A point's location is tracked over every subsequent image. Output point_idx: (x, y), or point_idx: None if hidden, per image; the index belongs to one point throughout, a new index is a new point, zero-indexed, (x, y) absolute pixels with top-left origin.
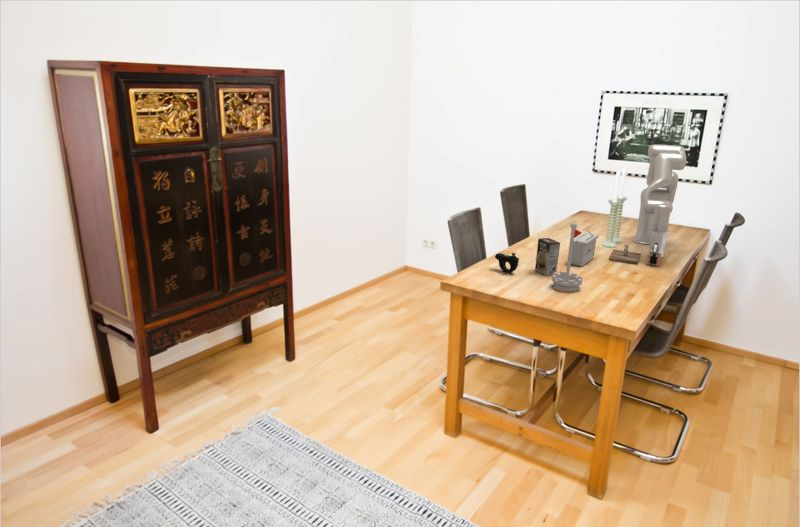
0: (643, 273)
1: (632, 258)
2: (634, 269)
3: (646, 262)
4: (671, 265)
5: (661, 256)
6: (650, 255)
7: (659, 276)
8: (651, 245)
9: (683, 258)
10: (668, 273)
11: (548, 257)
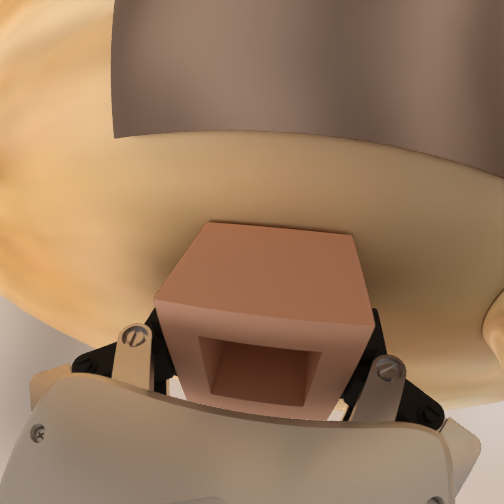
0: (12, 213)
1: (253, 43)
2: (28, 146)
3: (202, 229)
4: None
5: (485, 339)
6: (164, 323)
7: (37, 288)
8: (23, 443)
9: (458, 403)
10: (109, 339)
11: None
